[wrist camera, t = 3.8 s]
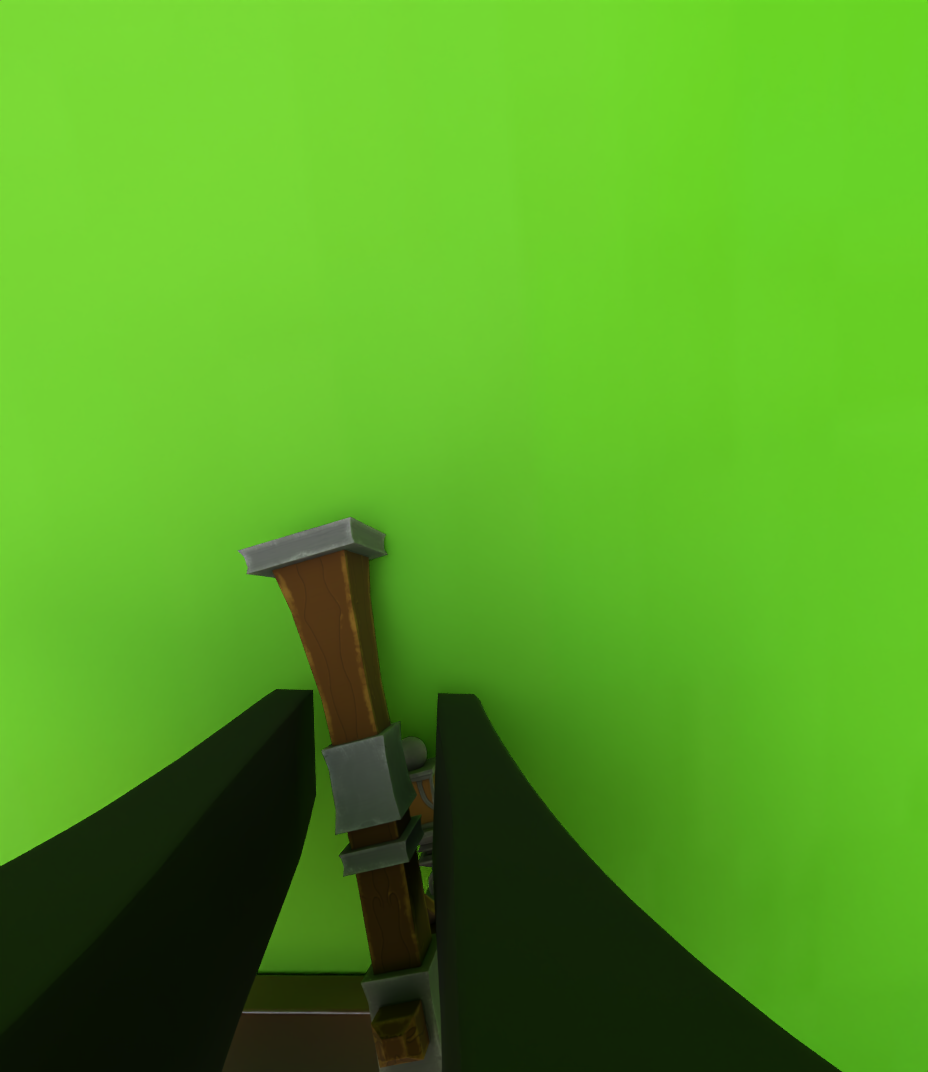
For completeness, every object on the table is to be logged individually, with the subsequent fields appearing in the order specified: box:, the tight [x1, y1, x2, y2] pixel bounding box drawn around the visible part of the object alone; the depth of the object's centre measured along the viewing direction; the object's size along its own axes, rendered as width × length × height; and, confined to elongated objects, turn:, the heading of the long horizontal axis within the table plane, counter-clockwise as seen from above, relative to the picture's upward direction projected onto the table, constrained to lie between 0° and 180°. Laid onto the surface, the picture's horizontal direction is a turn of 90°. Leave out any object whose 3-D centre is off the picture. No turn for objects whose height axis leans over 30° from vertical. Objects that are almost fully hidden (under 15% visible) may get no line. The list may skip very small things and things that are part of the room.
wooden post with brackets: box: [238, 517, 442, 1072], centre depth 9 cm, size 2×8×4 cm, turn 16°
